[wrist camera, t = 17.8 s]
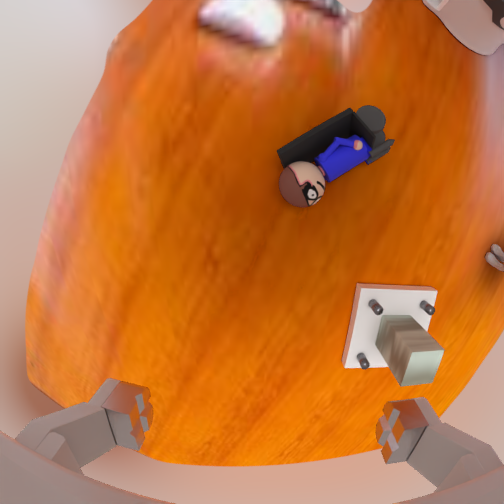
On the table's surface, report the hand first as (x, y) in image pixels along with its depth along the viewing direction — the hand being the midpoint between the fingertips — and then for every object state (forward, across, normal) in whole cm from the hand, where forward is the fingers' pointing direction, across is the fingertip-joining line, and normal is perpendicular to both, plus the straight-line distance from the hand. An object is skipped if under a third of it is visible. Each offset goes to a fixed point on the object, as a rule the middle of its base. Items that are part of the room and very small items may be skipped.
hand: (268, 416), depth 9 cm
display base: (+29, -18, +10) cm, 36 cm away
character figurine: (+29, -6, -12) cm, 32 cm away
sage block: (+27, -18, +10) cm, 34 cm away
